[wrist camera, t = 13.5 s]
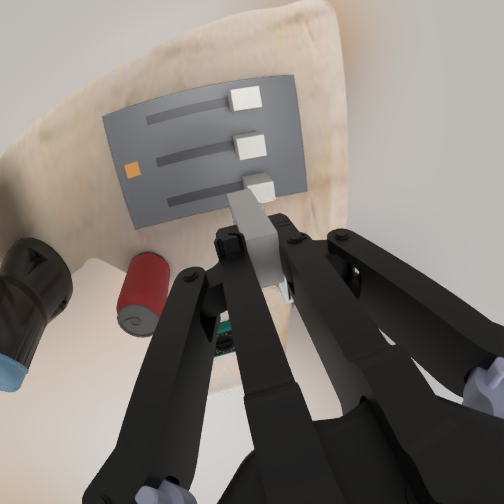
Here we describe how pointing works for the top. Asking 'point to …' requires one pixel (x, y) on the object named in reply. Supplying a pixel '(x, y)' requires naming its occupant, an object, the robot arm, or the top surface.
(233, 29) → the top surface
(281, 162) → the breaker panel
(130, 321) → the beer can
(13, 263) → the robot arm
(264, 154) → the handle
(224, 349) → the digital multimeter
